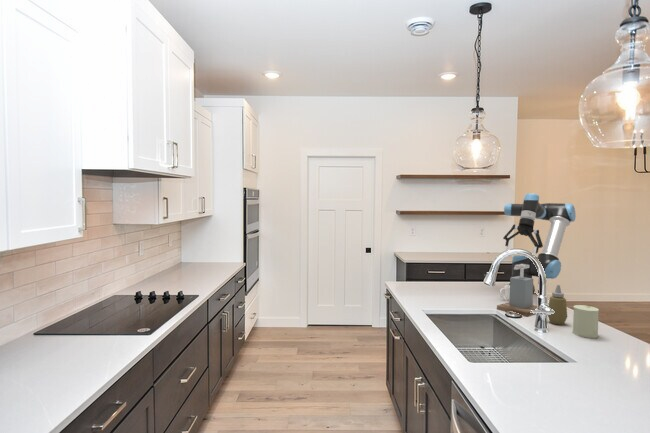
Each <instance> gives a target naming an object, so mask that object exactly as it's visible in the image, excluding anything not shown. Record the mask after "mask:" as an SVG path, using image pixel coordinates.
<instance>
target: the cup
mask: <svg viewBox="0 0 650 433" xmlns="http://www.w3.org/2000/svg"><path fill="white" fill-rule="evenodd" d="M503 290H504V294H505V298H506V299H505V298H504V297H502V291H503ZM499 297H500V298H501V299H503V300H504V301H506V302H507V301H508V302H509V301H510V285H509V284H507V285H504V287H502V288H500V290H499Z"/></svg>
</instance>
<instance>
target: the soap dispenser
mask: <svg viewBox="0 0 650 433" xmlns="http://www.w3.org/2000/svg"><path fill="white" fill-rule="evenodd" d="M509 284H510V301H508V302H509V306H513V307H517V308H521V309H527V308H531V307H532V305H534V304H533V302H534V300H533V298H534V297H533V295H534V293H533V284H534V278H533V277H532V278H527V277H524V278H523V279H522V278H520V276H516V277H512V276H511V277H510V279H509Z"/></svg>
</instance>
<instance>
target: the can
mask: <svg viewBox="0 0 650 433" xmlns="http://www.w3.org/2000/svg"><path fill="white" fill-rule="evenodd" d="M599 312H600V309H599V308H597V307H594V306H590V305H583V304H575V305H573V318H572V319H573V322H572V334H574V335H576V336H578V337H582V338H583V337H584V338H589V339H595V338H598V337H599V315H600V314H599Z"/></svg>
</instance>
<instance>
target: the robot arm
mask: <svg viewBox="0 0 650 433" xmlns="http://www.w3.org/2000/svg"><path fill="white" fill-rule="evenodd" d="M539 201H540V196H539V194H537V193H531V192H530V193H526V194H525V195H524V199H523V202H522V203H507V204H505V205H504V208H503V212H504V215H505V216H507V217H508V216H509V217H519V218H520V219H519V221H518V225H516V224H512V225H511V228H510V229H509V231H507V233H506V234H505V235H504V236H503V240H505V247H506V248H505V249H506V250H505V252H506V251H508V250H510V247H511V246H510V245H511V240H512V239H513V238H515V237H516V236H518V235H519V234H520V236H525V237H528V238H529V239H530V241H531V242H532V244H533V245H534V247H533V250H532V255H535V256H536V254H538V255H537V257H536V258H538V259H539V261H540V262H541V264H542V266H543V268H544V271H545V274H546V278H545V279H551V280H553V279H556V278H557V277H558V276H559V275H560V274H561V270H562V263H561V261H560V259H559V257H558V255H559V252H560V249H561V245H562V241H563V239H564V235H565V232H566V229H567V227H568V226H570V223H573V222H575V220H576V217H577V216H576V215H577V214H576V208H575V206H574V204H572V203H566V202H564V203H560V202H559V203H557V202H556V203H553V202H551V203H550V202H549V203H548V202H546V203H540V202H539ZM536 220H543V221H549V222H550V226H549V229H548V232H547V235H546V238H545V241H544V244H543V242H542V238H541V236H540V230H539V229H534V225H535V221H536ZM516 229H517V232H515V233H513V234H512V235H510V234H511V233H512V232H513V231H514V230H516ZM533 233H534V234H535V237H534V235H533ZM541 248H543V249H542V252H540V253H539V249H541ZM508 252H509V251H508ZM520 255H521V254H515V255H513V256H512V262H511V264H512V265H511V277H516V276H520V269H517V270H515V269H514V267H515V265H518V264H527V265H529V268H526V269H524V277H527V278H532V279H533V277H537V278H540V277H539V276H538V272H537V269H536V267H535V265H534V264H533V262H532V261H531V260H530V259H529V258H527V257H525V256H520ZM508 285H510V283H509V284H508ZM535 292H536V289H535V284H534V283H533V294H534V293H535Z"/></svg>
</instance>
